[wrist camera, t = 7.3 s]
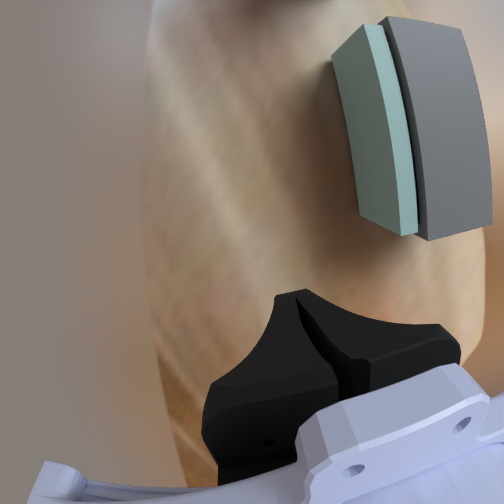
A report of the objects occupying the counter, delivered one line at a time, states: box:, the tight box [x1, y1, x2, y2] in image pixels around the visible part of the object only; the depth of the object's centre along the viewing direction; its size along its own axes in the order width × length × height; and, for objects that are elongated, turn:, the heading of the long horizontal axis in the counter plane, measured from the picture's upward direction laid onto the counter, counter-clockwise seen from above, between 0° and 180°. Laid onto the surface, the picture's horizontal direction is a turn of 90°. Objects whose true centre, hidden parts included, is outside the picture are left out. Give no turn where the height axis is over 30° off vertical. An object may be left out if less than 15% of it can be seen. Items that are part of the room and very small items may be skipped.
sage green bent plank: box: [331, 24, 418, 236], centre depth 16 cm, size 12×1×6 cm, turn 11°
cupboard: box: [377, 16, 492, 241], centre depth 16 cm, size 13×6×7 cm, turn 11°
